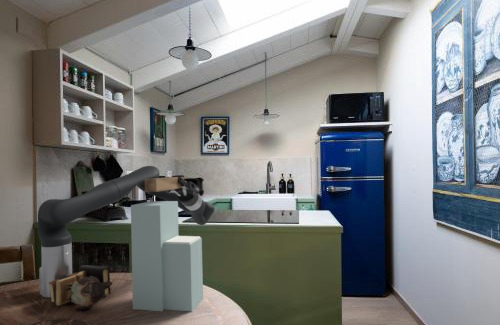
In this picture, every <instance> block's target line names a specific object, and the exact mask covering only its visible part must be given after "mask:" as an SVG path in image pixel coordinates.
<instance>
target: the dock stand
mask: <svg viewBox="0 0 500 325" xmlns="http://www.w3.org/2000/svg"><path fill="white" fill-rule="evenodd" d="M130 220H131V221H130V225H131V226H130V227H131V230H130V233H131V236H130V238H131V281H132V282H131V283H132V284H131V286H132V287H131V288H132V310H140V311H142V310H143V311H153V312H163V311H165V310H168V311H169V310H170V311H181V312H193V311H194V310H195V309H196V308H197V307H198V306H199V304H201V302H202V301H203V300H204V287H203V284H204V283H203V278H204V277H203V248H202V247H203V240H202V239H203V238H202V237H201V236H199V235H197V236H196V235H195V236H194V235H179V234H180V233H179V207H178V201H166V200H159V201H158V200H154V201H153V200H151V201H146V202H140V203H136V204H131V205H130Z"/></svg>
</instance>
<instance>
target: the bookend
mask: <svg viewBox="0 0 500 325" xmlns="http://www.w3.org/2000/svg"><path fill="white" fill-rule="evenodd" d="M110 274H111V272H110V268H109V267H108V266H102V265H100V266H99V265H89V264H85V265H84V264H83V265H80V266H79V267H78V271H77V272H74V273H73V272H72V274H70V275H60V278H58V279H56V280H54V281H52V282H49V286H50V295H51V297H50V302H51V303H54V305H55V306H63V305H65V304H68V303H70V304H74V309H76V310H86V309H89V308H92V307H94V306H95V305H96V304H98V302H99V301H101V300H102V299H103V298H104V297H105V295H110V294H111V286H112V285H113V282H111V277H110V276H111V275H110Z"/></svg>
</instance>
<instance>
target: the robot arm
mask: <svg viewBox="0 0 500 325" xmlns="http://www.w3.org/2000/svg"><path fill="white" fill-rule="evenodd" d="M168 177H169V176H166V178H168ZM177 177H178V183H179V184H180V185H181V186H182V188H177V189H171V190H165V191H159V192H145V179H155V178H160V170H159V168H158V167H157V166H153V165H145V166H142V167H140V168H139V167H138V169H135V170H134V171H132V172H128V173H127V174H125V175H122V176H120V177H118V178H113V179H110V180H108V181H104V182H102V183H99V184H97V185H95V186H94V187H92V188H91V189H89V190H88V191H86V192H85V193H82V194H79V195H77V196H73V197H70V198H64V199H59V198H58V199H57V198H51V199H47V200H45V201H44V202H42V203H41V204H40V205H39V208H38V209H37V210H38V211H37V228H38V229H37V230H38V238H39V240H40V244H41V246H40V247H41V249H40V250H41V266H40V267H39V270H38V271H39V276H38V277H39V278H38V279H39V280H38V281H39V295H40V296H42V298H43V297H44V298H51V295H50V286H49V282H52V281H54V280H56V279H58V278H60V275H70V274H73V248H72V247H73V246H72V244H73V243H72V235H71V233H70V231H68V229H67V224H69V223H72V222H74V221H75V220H77V219H79V218H81V217H82V216H84V215H87V214H88V213H91V212H94V211H96V210H99V209H101V208H104V207H106V206H110V205H111V204H114V203H116V202H119V201H121V200H123V198H125V197H126V196H127V195H128V194H130V192H131V191H133V190H134V188H136V187H137V188H138V189H139V190H141V191H142V192H144V193H147V194H150V195H152V196H155V198H156V197H157V198H159V199H162V200H163V201H178V209H180V210H183V211H184V212H186V213H189V212H190V214H191V217H192V219H193V221H194V222H195V224H197V225H198V226H199V225H200V226H204V225H206V224H207V223H208V221H209V220H210V219H211V217H212V215H213V214H214V212H215V206H214V205H213V204H212V203H210V202H208V201H204V200H203V198H202V197H201V195H200V189H201V188H200V186H198V185H197V184H195V183H194V182H192V181H190V180H189V181H186V180H185V178H184V179H183V178H181V177H182V176H177Z"/></svg>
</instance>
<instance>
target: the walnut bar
mask: <svg viewBox="0 0 500 325" xmlns="http://www.w3.org/2000/svg"><path fill="white" fill-rule="evenodd" d="M167 177H168V178H167ZM167 177H159V178H155V179H145V192H144V193H147V192H159V191H165V190H171V189H177V188H182V186H181V185H180V184H179V183H178V177H179V176H171V177H169V176H167ZM180 177H181V178H183V179H184V180H185V176H180Z"/></svg>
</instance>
